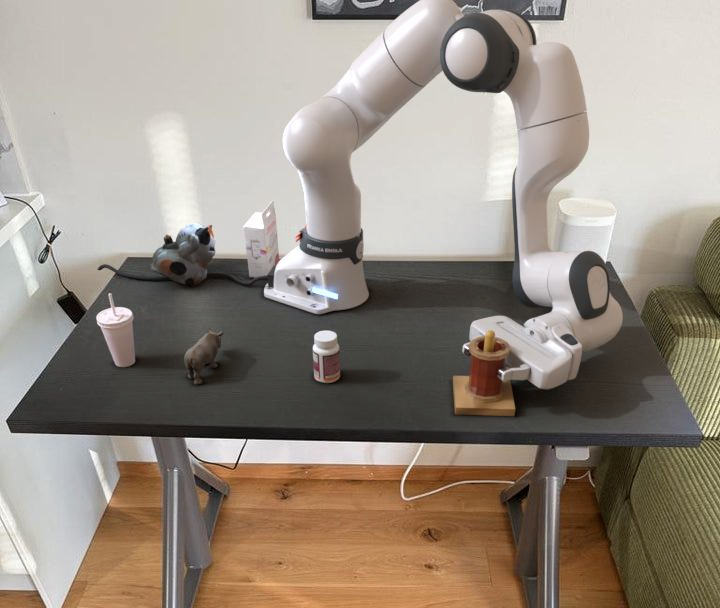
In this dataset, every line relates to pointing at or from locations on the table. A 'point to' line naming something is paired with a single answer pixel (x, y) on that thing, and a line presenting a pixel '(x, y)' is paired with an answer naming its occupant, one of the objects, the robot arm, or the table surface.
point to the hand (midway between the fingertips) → (482, 363)
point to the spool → (486, 370)
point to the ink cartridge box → (261, 242)
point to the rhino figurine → (202, 354)
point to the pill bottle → (326, 357)
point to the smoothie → (118, 333)
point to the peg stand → (473, 407)
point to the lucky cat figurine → (185, 254)
